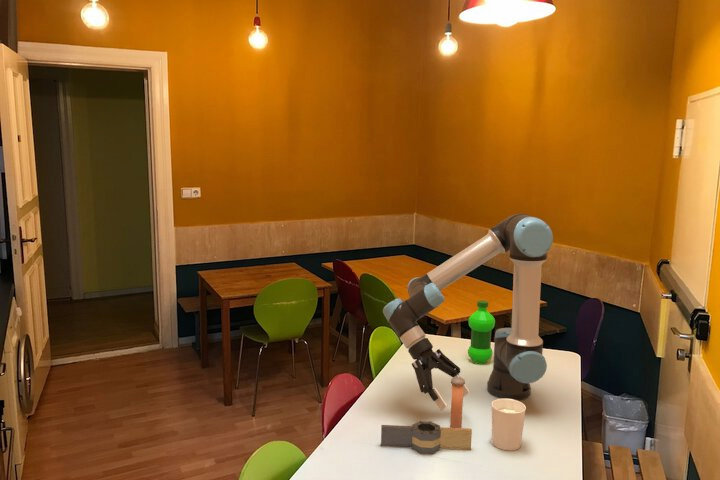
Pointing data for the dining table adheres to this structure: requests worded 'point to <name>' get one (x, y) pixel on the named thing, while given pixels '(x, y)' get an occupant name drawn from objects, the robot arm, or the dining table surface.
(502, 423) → the candle holder
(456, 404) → the hinge pin
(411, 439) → the hinge
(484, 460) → the dining table surface
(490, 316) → the plastic bottle
